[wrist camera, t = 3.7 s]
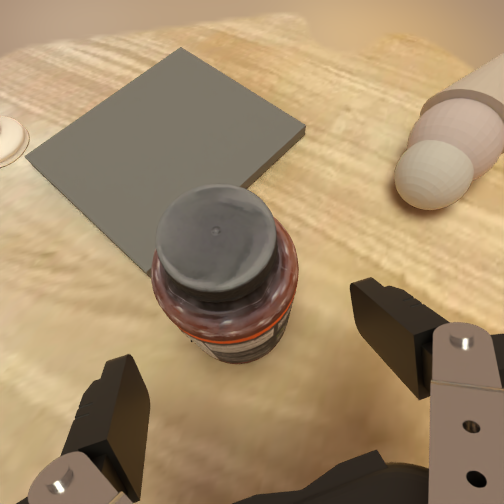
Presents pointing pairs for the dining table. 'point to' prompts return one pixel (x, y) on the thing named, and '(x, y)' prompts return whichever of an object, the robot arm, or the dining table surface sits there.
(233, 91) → the mat
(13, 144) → the chess piece
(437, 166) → the ice cream cone
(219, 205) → the supplement bottle
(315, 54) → the dining table surface
